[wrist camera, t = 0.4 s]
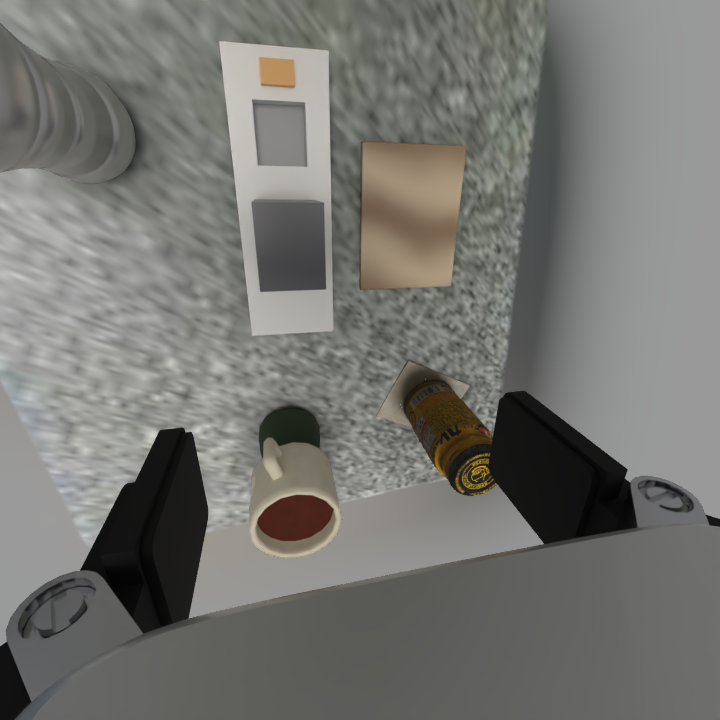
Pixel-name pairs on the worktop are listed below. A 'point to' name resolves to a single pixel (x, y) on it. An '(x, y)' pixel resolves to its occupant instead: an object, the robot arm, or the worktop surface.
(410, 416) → the condiment
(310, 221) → the block
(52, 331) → the worktop surface
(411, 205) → the cork pad
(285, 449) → the character mug
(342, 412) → the worktop surface
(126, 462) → the worktop surface
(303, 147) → the power strip
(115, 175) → the plastic bottle
